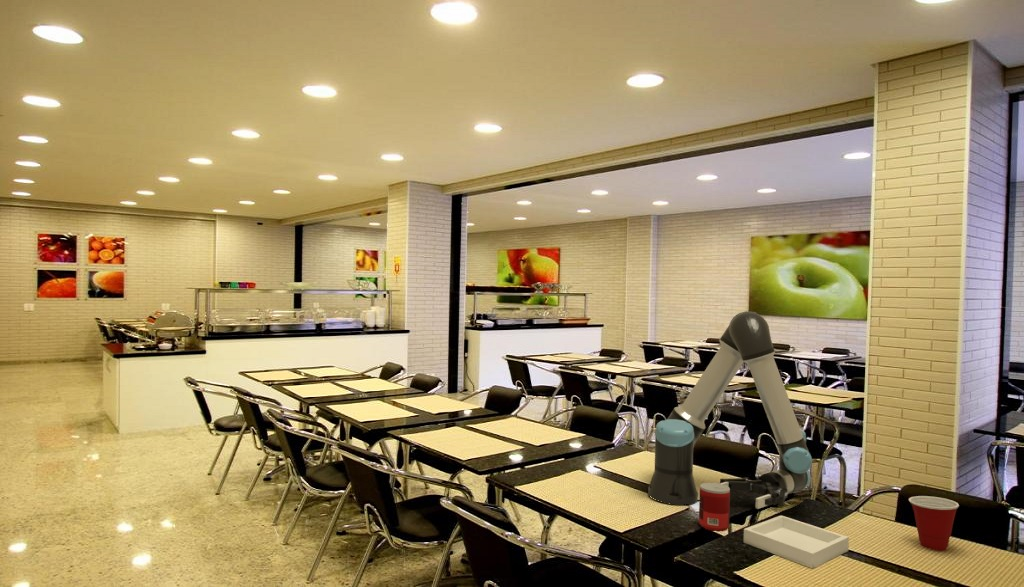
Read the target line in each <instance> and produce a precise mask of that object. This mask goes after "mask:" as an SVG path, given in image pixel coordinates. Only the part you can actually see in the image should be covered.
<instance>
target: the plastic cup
mask: <svg viewBox="0 0 1024 587" xmlns="http://www.w3.org/2000/svg"><path fill="white" fill-rule="evenodd" d="M908 501H909V503H910V505H911V506H912V511H913V513H914V519H915V520H914V521H915V523H916V524H915V525H916V530H917V535H918V541H919V544H920V546H921V547H923V548H925V549H929V550H932V551H936V552H937V551H939V552H944V551H946V550H947V549H948V548H949V543H950V538H951V537H952V536H951V535H952V532H953V527H954V526H953V525H954V521H955V517H956V514H957V510H958V508H959V507H960V505H959V503H958V502H956V501H954V500H951V499H948V498H944V497H937V496H928V495H918V496H917V495H916V496H911V497H909V498H908Z"/></svg>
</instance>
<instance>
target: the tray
mask: <svg viewBox="0 0 1024 587" xmlns="http://www.w3.org/2000/svg"><path fill="white" fill-rule="evenodd" d="M849 541H850V537H849V536H846V535H844V534H841V533H837V532H834V531H831V530H828V529H825V528H821V527H819V526H815V525H812V524H810V523H807V522H802V521H799V520H797V519H794V518H791V517H787V516H784V515H778V516H775V517H773V518H770V519H768V520H767V519H766V520H765V521H762V522H759V523H756V524H754V525H751V526H748V527H746V528H743V543H744V544H747V545H749V546H751V547H754V548H757V549H759V550H762V551H765V552H768V553H771V554H773V555H774V556H775V555H776V556H779V557H780V558H783V559H785V560H786V559H787V560H789V561H791V562H793V563H797V564H799V565H802V566H804V567H808V568H810V569H814V568H817V567H818V566H821V565H823V564H825V563H826V562H828V561H831V560H833V559H834V558H836V557H838V556H839V557H840V556H841V555H843V554H845V553H847V552H849V544H850V543H849Z"/></svg>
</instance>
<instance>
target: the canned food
mask: <svg viewBox="0 0 1024 587" xmlns="http://www.w3.org/2000/svg"><path fill="white" fill-rule="evenodd" d="M698 499H699V500H698V503H699V504H698V505H699V508H698V510H699V512H698V524H699V526H700V525H701V526H703V527H704V528H705V530H708V531H710V532H725V531H728V529H729V528H730V527H729V526H730V509H731V507H730V506H731V504H730V503H731V490H730V488H729V487H728V486H726V485H723V484H720V483H718V482H703V483H701V484H700V485H699V498H698ZM701 526H700V527H701ZM704 528H703V529H704Z"/></svg>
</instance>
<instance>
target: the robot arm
mask: <svg viewBox="0 0 1024 587" xmlns="http://www.w3.org/2000/svg"><path fill="white" fill-rule="evenodd" d="M770 331H771V330H770V327H769V324H768V321H767V320H766V319H765V317H763V316H762V315H760V314H759V313H757V312H754V311H747V310H746V311H741V312H739V313H737V314H736V315H734V316H733V317H732V318H731V320H730V322H729V325H728V326H727V328H726V329H725V331H724V332H723V333H722V335H721V337H720V338H719V346H720V347H719V348H718V350H717V352H716V353H715V355H714V356H713V358H712V359H711V360H710V362H709V364H708V365H707V366H706V369H705V370H704V371H703V372H702V374H701V375H700V378H698V381H697V382H696V384H695V385H694V386H693V388H692V390H691V391H690V392H689V393H688V395H687V396H686V398H685V400H684V401H683V403H682V404H681V405H680V406H676V407H674V408H673V410H672V411H671V413H670V414H669V416H668V417H667V418H666V419H664V420H660V421H659V422H657V423H656V425H655V430H654V436H655V440H654V441H655V444H654V445H655V447H654V471H653V473H652V477H651V480H650V483H649V485H648V490H647V491H648V492H647V495H648V494H649V495H650V496H651V497H652V498H654V499H656V500H659V501H662V502H665V503H664V504H666V503H670V504H669V505H672V504H678V505H677V506H687V505H686V504H689V505H693V504H692V503H694V504H696V503H697V502H698V501H699V500H698V499H699V492H698V490H697V486H696V482H695V479H694V475H693V473H694V472H693V470H694V469H693V468H694V447H695V445H696V443H697V441H698V440H699V438H701V437H700V436H701V435H702V434H703V432H704V431H705V429H706V424H705V421H706V419H707V417H708V416H709V414H710V413H711V412H712V411H713V408H714V407H715V405H716V404H717V403H718V401H719V400H720V398H721V396H723V394H724V393H725V391H726V389H727V387H728V386H729V385H730V383H731V382H732V381H733V379H734V377H736V374H737V373H738V371H739V370H740V369H741V368H742V365H744V363H745V364H747V366H748V368H749V371H750V373H751V375H752V376H751V377H752V379H753V381H754V384H755V387H756V390H757V392H758V395H759V397H760V401H761V403H762V406H763V409H764V411H765V414H766V418H767V419H768V422H769V425H770V428H771V430H772V433H773V435H774V438H775V441H776V443H777V447H778V449H779V450H778V451H779V459H778V460H779V461H778V463H779V464H778V469H776V470H772V471H768V472H765V473H762V474H761V475H760V476H759V477H758V479H755V480H754V479H752V480H751V479H750V478H749V477H747V476H745V477H739V478H738V477H737V478H732V477H731V478H720V480H719V484H723V485H726V486H728V487H729V488H730V491H740V492H741V491H745V492H748V493H751V494H752V493H753V494H754V493H755V494H757V495H761V496H759V497H756V498H755V509H757V510H759V509H761V508H764V507H768V506H771V505H774V506H777V504H778V506H779V507H784V506H785V500H786V499H788V495H789V494H792V493H797V492H800V491H802V490H804V489H806V488H808V487H809V485H810V484H811V481H812V476H811V474H810V472H809V470H810V469H811V468H812V465H813V463H812V462H813V457H812V455H811V452H810V451H809V448H808V447H807V438H806V437H807V434H806V432H805V431H804V430H801V428H800V425H799V422H798V420H797V416H796V415H795V411H794V408H793V406H792V403H791V400H790V398H789V395H788V392H787V390H786V387H785V384H784V382H783V379H782V376H781V375H780V372H779V369H778V365H777V363H776V361H775V358H774V355H775V353H776V350H775V348H774V344H773V341H772V337H771V332H770ZM697 500H698V501H697ZM695 502H696V503H695ZM684 504H685V505H684Z"/></svg>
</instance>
